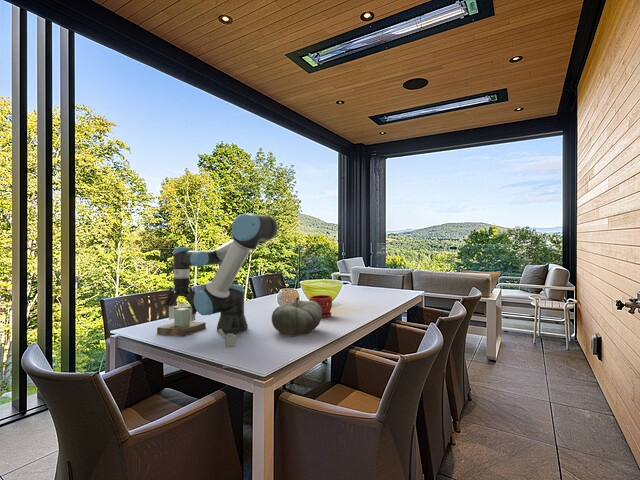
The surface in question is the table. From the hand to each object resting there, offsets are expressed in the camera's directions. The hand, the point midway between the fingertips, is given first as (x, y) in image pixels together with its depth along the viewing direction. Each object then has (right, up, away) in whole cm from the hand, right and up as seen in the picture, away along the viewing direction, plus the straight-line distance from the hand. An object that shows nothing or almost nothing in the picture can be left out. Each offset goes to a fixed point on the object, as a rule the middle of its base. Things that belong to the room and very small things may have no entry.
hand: (182, 319), depth 173 cm
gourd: (+58, -5, -5) cm, 58 cm away
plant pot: (+70, -6, +31) cm, 77 cm away
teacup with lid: (-8, -6, +20) cm, 23 cm away
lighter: (+30, -5, -28) cm, 41 cm away
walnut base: (0, -6, 0) cm, 6 cm away
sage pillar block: (0, -3, 0) cm, 3 cm away
